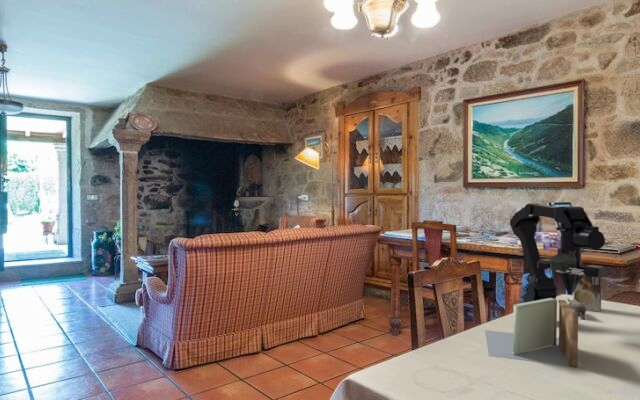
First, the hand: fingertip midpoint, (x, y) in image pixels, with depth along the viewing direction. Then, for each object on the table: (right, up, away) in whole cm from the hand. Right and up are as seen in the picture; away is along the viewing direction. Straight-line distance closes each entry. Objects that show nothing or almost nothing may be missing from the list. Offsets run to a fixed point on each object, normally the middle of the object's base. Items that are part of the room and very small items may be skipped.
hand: (570, 294), depth 131 cm
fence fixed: (-12, -13, -18) cm, 25 cm away
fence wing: (-18, -12, -13) cm, 26 cm away
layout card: (-19, -13, -11) cm, 26 cm away
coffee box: (+26, -13, +31) cm, 43 cm away
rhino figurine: (+16, -13, +22) cm, 30 cm away
